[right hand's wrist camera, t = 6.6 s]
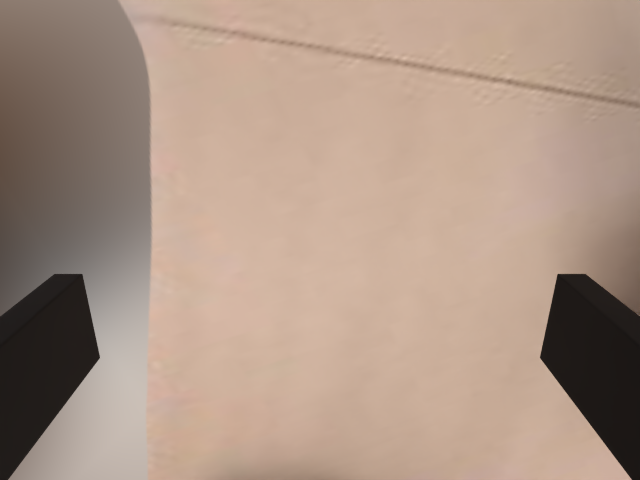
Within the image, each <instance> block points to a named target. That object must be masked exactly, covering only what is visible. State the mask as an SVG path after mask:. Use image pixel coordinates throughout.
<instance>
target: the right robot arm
mask: <svg viewBox="0 0 640 480" xmlns="http://www.w3.org/2000/svg"><path fill="white" fill-rule="evenodd" d="M99 358H100V356H99V351H98V346H97V342H96V337H95V332H94V327H93V323H92V318H91V313H90V308H89V304H88V299H87V294H86V290H85V285H84V280H83V275H82V274H54V275H53V276H51V277H50V278H49V279H48V280H46V281H45V282H44V283H43V284H41V285H40V286H39V287H37V288H36V289H35V290H34V291H32V292H31V293H30V294H29V295H27V296H26V297H25V298H23V299H22V300H21V301H20V302H18V303H17V304H16V305H14V306H13V307H12V308H11V309H9V310H8V311H7V312H6V313H4V314H3V315H2V316H0V480H8V479H9V478H10V476H11V475H12V474H13V472H14V471H15V470H16V468H17V467H18V466H19V464H20V463H21V462H22V460H23V459H24V458H25V456H26V455H27V454H28V453H29V451H30V450H31V448H32V447H33V446H34V445H35V443H36V442H37V441H38V439H39V438H40V437H41V435H42V434H43V433H44V431H45V430H46V429H47V427H48V426H49V425H50V423H51V422H52V421H53V419H54V418H55V417H56V415H57V414H58V413H59V411H60V410H61V409H62V407H63V406H64V405H65V403H66V402H67V401H68V399H69V398H70V397H71V395H72V394H73V393H74V391H75V390H76V389H77V387H78V386H79V385H80V384H81V382H82V381H83V380H84V378H85V377H86V376H87V374H88V373H89V372H90V370H91V369H92V368H93V366H94V365H95V364H96V362H97V361H98V360H99ZM540 358H541V360H542V361H543V362H544V364H545V365H546V366H547V368H548V369H549V370H550V372H551V373H552V374H553V376H554V377H555V378H556V380H557V381H558V382H559V384H560V385H561V386H562V388H563V389H564V390H565V392H566V393H567V394H568V395H569V397H570V398H571V399H572V401H573V402H574V403H575V405H576V406H577V407H578V409H579V410H580V411H581V413H582V414H583V415H584V417H585V418H586V419H587V421H588V422H589V423H590V425H591V426H592V427H593V429H594V430H595V431H596V433H597V434H598V435H599V437H600V438H601V439H602V441H603V442H604V443H605V445H606V446H607V447H608V449H609V450H610V451H611V453H612V454H613V455H614V457H615V458H616V459H617V460H618V462H619V463H620V464H621V466H622V467H623V468H624V470H625V471H626V472H627V474H628V475H629V476H630V478H631V479H632V480H640V316H638V315H637V314H636V313H634V312H633V311H632V310H631V309H629V308H628V307H627V306H626V305H624V304H623V303H622V302H620V301H619V300H618V299H617V298H615V297H614V296H613V295H611V294H610V293H609V292H608V291H606V290H605V289H604V288H603V287H601V286H600V285H599V284H597V283H596V282H595V281H594V280H592V279H591V278H590V277H589V276H587V275H586V274H558V275H557V280H556V285H555V289H554V294H553V299H552V304H551V308H550V313H549V318H548V323H547V327H546V332H545V337H544V341H543V346H542V351H541V356H540Z"/></svg>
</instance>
